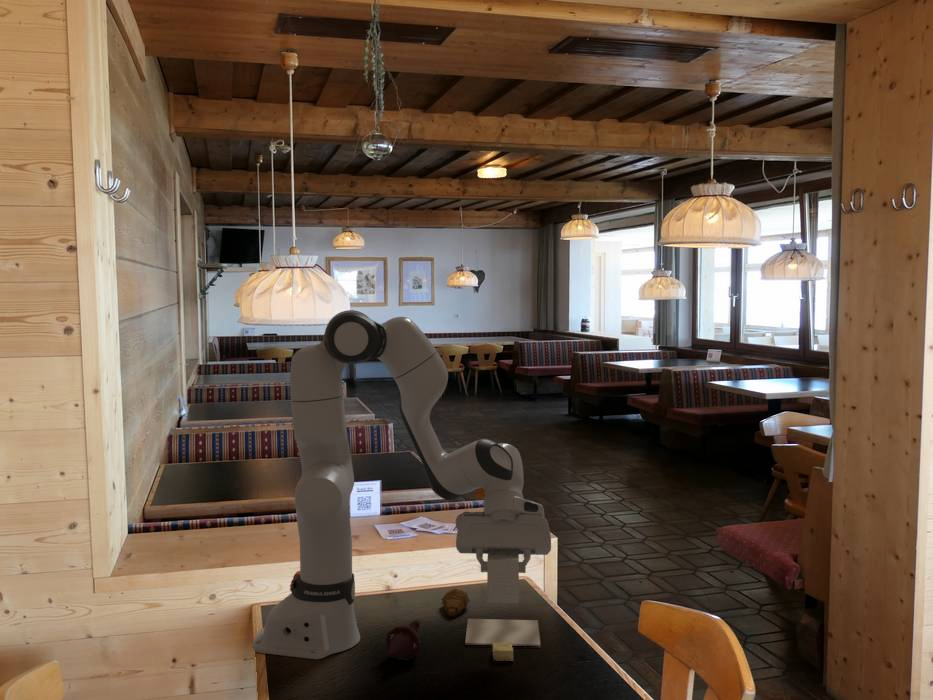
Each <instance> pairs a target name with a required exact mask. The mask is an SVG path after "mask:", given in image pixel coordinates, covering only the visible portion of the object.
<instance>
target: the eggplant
mask: <svg viewBox="0 0 933 700" xmlns="http://www.w3.org/2000/svg"><path fill="white" fill-rule="evenodd" d="M421 623H422V622H421V621H420V620H419V619H415V620H413V621H411V623H410V624H409V626H408V625H406V624H405V625H402V626H396V627H395V628H393V629H392V630H390V631H389V632H387V634H386V640H385V642H386V646H387V650H388V654H387V655H388V657H389V658H395V657H396V658H405V659H411V660H412V659H413V658H414V657H415V656H417V655H418V654H419V652H420V651H419V650H420V647H421V637H420V635H419V634H418V630H419V629H420V627H421ZM396 658H395V659H396Z"/></svg>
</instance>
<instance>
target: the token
mask: <svg viewBox="0 0 933 700" xmlns="http://www.w3.org/2000/svg"><path fill="white" fill-rule="evenodd" d="M491 648H492V650H491V651H492V652H493V654H492V658H493V659H494V660H496V661H504V660H505V661H513V662H514V647H512V642H497V643H492V646H491ZM494 660H493V661H494Z"/></svg>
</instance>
